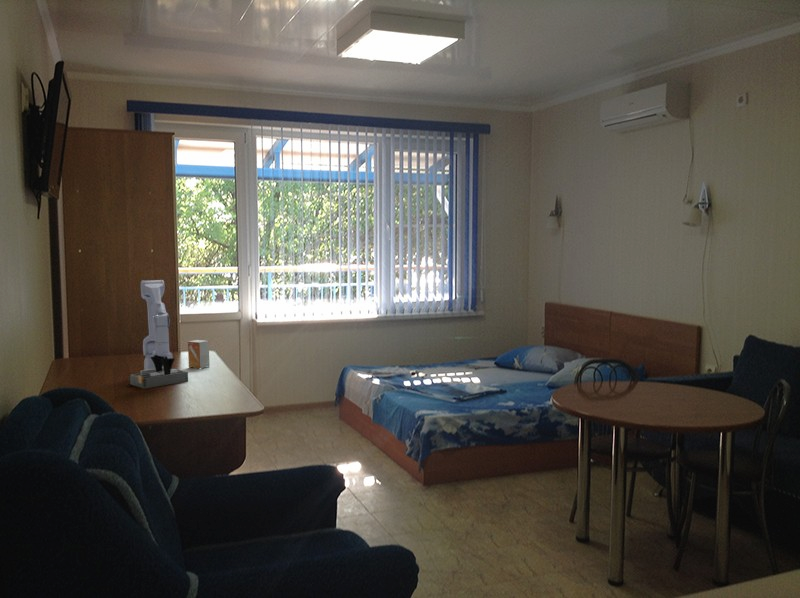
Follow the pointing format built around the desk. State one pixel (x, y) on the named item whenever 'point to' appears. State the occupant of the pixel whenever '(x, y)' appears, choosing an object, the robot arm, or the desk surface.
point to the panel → (162, 373)
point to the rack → (157, 378)
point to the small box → (198, 353)
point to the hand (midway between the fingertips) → (163, 373)
